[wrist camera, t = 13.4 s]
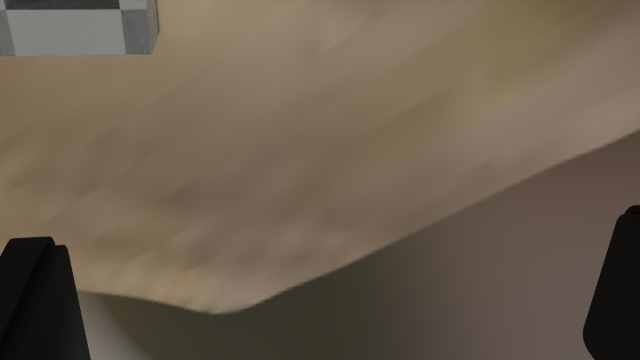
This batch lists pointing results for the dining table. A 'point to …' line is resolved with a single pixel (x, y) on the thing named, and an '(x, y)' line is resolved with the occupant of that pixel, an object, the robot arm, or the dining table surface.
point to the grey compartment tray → (77, 27)
